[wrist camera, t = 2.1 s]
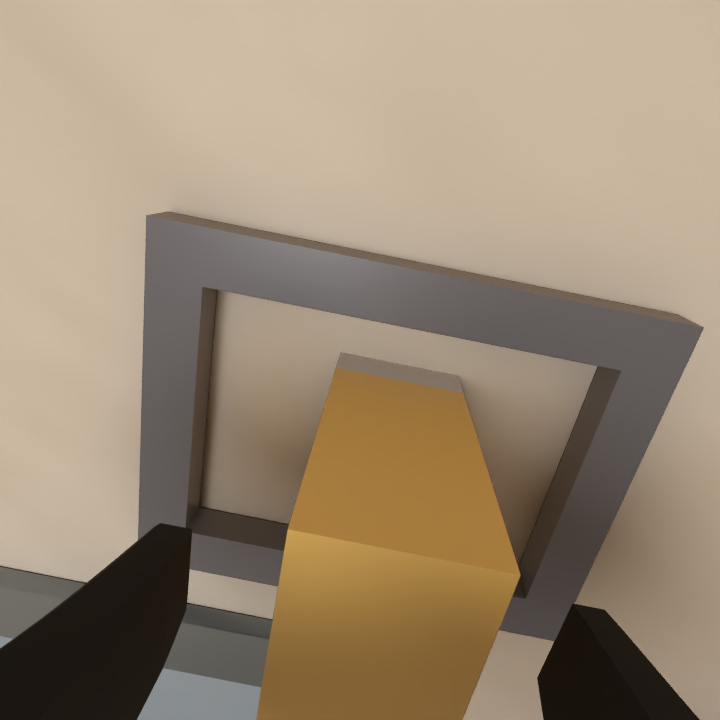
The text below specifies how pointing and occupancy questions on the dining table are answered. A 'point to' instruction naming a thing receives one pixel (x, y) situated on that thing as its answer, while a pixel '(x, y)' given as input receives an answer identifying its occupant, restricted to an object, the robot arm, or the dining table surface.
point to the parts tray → (186, 658)
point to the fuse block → (389, 556)
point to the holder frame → (411, 310)
